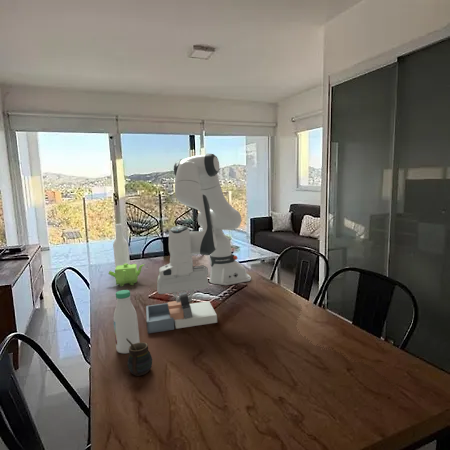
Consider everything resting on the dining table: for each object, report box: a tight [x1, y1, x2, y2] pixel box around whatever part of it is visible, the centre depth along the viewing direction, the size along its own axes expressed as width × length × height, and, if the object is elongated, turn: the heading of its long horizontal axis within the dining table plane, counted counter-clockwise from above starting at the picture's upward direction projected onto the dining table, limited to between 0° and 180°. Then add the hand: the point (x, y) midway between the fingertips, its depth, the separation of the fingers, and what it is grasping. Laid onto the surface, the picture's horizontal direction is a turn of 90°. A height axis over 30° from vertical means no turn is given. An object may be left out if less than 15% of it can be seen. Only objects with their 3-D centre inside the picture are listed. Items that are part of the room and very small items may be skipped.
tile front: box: [169, 308, 184, 320], centre depth 135 cm, size 5×5×2 cm
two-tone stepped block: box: [178, 291, 192, 319], centre depth 139 cm, size 3×14×7 cm, turn 14°
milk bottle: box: [113, 289, 141, 354], centre depth 117 cm, size 8×8×20 cm
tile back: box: [167, 300, 181, 310], centre depth 143 cm, size 5×5×2 cm
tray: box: [145, 302, 175, 334], centre depth 138 cm, size 10×17×4 cm, turn 13°
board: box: [174, 300, 218, 329], centre depth 141 cm, size 16×16×3 cm
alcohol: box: [112, 223, 131, 269], centre depth 217 cm, size 9×9×30 cm
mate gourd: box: [126, 339, 153, 377], centre depth 103 cm, size 7×8×10 cm
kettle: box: [108, 263, 145, 287], centre depth 191 cm, size 15×14×11 cm
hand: (184, 301), depth 139 cm, fingers closed on two-tone stepped block, 3 cm apart
